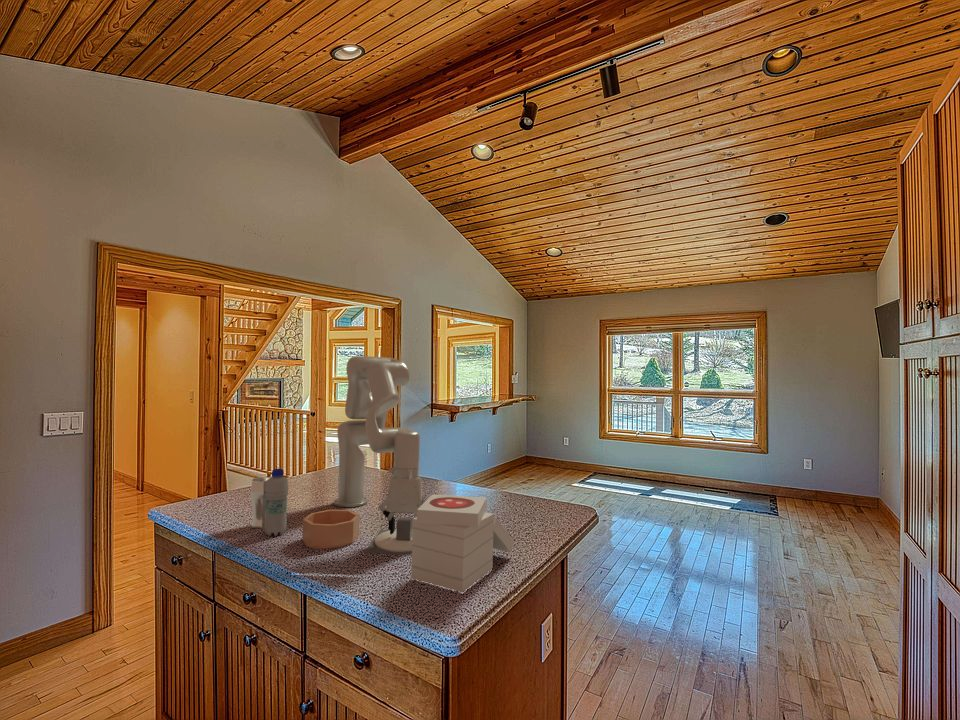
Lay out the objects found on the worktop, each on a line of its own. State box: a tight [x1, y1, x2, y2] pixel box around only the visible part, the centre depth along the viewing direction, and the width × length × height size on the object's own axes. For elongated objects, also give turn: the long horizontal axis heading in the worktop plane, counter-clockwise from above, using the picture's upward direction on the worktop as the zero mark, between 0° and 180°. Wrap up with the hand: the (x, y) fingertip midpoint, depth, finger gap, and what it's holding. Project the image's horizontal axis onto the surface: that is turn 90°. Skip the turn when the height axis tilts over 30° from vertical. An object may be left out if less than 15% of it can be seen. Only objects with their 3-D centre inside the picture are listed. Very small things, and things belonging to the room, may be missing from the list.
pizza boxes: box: [410, 493, 515, 592], centre depth 124 cm, size 19×30×18 cm, turn 151°
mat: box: [363, 529, 412, 556], centre depth 140 cm, size 19×19×1 cm
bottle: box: [263, 468, 289, 537], centre depth 146 cm, size 7×7×20 cm
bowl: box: [301, 509, 361, 550], centre depth 141 cm, size 15×15×7 cm
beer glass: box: [250, 476, 272, 529], centre depth 153 cm, size 7×7×15 cm
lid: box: [374, 516, 414, 553], centre depth 140 cm, size 17×17×6 cm
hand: (404, 532), depth 140 cm, fingers open, 6 cm apart
